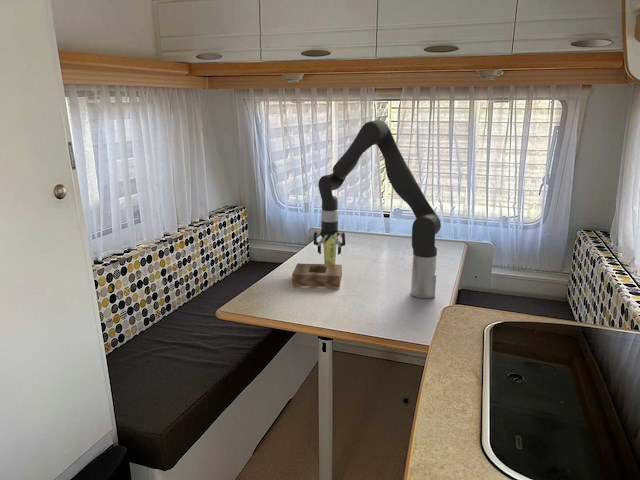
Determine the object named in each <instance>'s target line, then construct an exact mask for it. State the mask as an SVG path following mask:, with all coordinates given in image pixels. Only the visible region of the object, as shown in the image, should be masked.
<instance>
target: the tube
mask: <svg viewBox="0 0 640 480" xmlns="http://www.w3.org/2000/svg"><path fill="white" fill-rule="evenodd" d="M334 237H335V238H336V239H337V238H338V237H337V232H335V234H334ZM335 238H334V239H332V238H331V237H330V238H329V239H328V241H325V240H324V242H323V243H322V245H323V259H324V260H323V261H324V262H323V264H331V265H337V264H336V263H337V261H336V257H337V244H336V243H335Z"/></svg>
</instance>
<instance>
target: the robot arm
mask: <svg viewBox="0 0 640 480" xmlns="http://www.w3.org/2000/svg"><path fill="white" fill-rule="evenodd" d="M374 145H376V146H377V148H378V149H379V151H380V153H381V154H382V157H383V161H384V165H385V166H384V167H385V173H386V177H387V179H388V182H389V183H390V185H391V187H392V188H393V190H394V192H395V193H396V194H397V195H398V197H400V198H401V199H402V200H403V202H405V203H406V204H407V206H408V207H410V209H411V211H412V212H413V215H414V217H415V219H414V221H413V223H412V228H411V247H412V263H411V264H412V269H411V287H410V293H411V294H410V295H411V296H412V297H414V298H418V299H431V298H435V297H436V283H437V274H436V270H437V255H438V254H437V253H438V248H437V246H436V245H435V244H436V235H437V234H438V233H439V232H440V231H441V228H442V227H441V226H442V224H441V223H442V222H441V219H440V217H439V216H438V214H437V213H436V211H435V209H433V207H432V206H431V204H430V203H429V201H428V200H427V198H426V196H425V195H424V193H423V191H422V189H421V187H420V184H419V183H418V181H417V179H416V178H415V176H414V174H413V172H412V170H411V168H410V167H409V165H408V163H407V161H406V160H405V158H404V156H403V155H402V154H403V153H402V152H401V151H400V149H399V147H398V145H397V143H396V141H395V138H394V136H393V133H392V131H391V129H390V126H389V124H387V122H385V121H384V120H381V119H375V120H371V121H367V122H365V123H364V124H363V125H362V127H360V129H359V131H358V133H357V135H356V136H355V138H354V140H353V141H352V142H351V144H350V145H349V147H348V148H347V150H346V151H345V152H344V154H343V155H342V156H341V157H340V158H339V159H338V160H337V162H336V163H334V165H333V167H332V173H330V174H325V175H322V176H321V177H320V178H319V180H318V182H317V183H318V184H317V185H318V191H319V195H320V198H321V215H320V217H321V219H320V223H321V225H320V229H321V230H320V231H317V230H315V231H314V233H313V245H315V246H316V247H317V253H318V254H319V255H321V254H322V245H323V242H324V240H325V241H328V239H329V238H330V237H331V238H332V239H334V238H335V237H334V234H335V232H337V239H336V238H335V243H336V246H337V255H340V254H341V253H342V247H345V246H346V232H345V231H342V232H340V231H339V212H338V211H339V210H338V209H339V207H338V206H339V201H338V200H339V199H338V197H337V196H335V195H333V192H332V191H336V190H338V189H339V188H340V187H342V185H343V184H344V182H345V180H346V178H347V176H348V175H349V174H350V173H351V172H352V171H353V169H355V168H356V166H357V165H358V162H359V161H360V158H361V157H362V155H364V153H365V152H366V151H367V150H368V149H370V148H372V146H374ZM319 236H320V237H321V239H320V240H319V241H318V237H319ZM339 236H340V238H341V241H340V240H339V239H338V237H339Z"/></svg>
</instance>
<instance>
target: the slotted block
mask: <svg viewBox="0 0 640 480" xmlns="http://www.w3.org/2000/svg"><path fill="white" fill-rule="evenodd" d="M342 277H343V266H342V264H336V265H331V264H325V263H299V262H297V264H296V265H295V267H294V270H293V271H292V273H291V283H292V284H291V287H292V288H293V289H294V288H295V289H298V288H299V289H315V290H317V289H320V290H321V289H322V290H340V289H341V282H342Z"/></svg>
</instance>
